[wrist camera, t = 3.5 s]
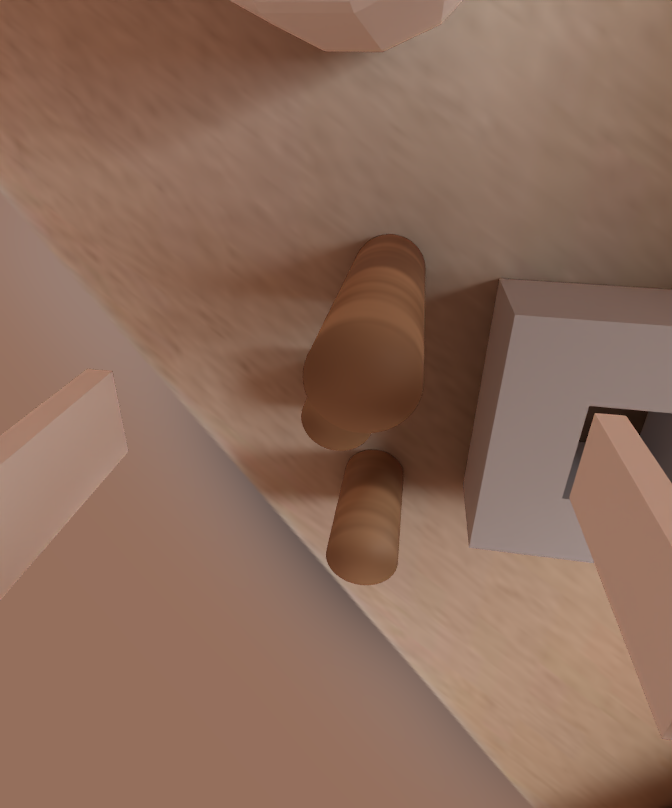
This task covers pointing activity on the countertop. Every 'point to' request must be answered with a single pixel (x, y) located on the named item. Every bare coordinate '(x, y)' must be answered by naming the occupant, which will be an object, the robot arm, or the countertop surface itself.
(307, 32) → the soap bottle
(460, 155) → the countertop surface
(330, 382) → the pin tall
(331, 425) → the pin short
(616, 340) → the hole block
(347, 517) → the pin medium
